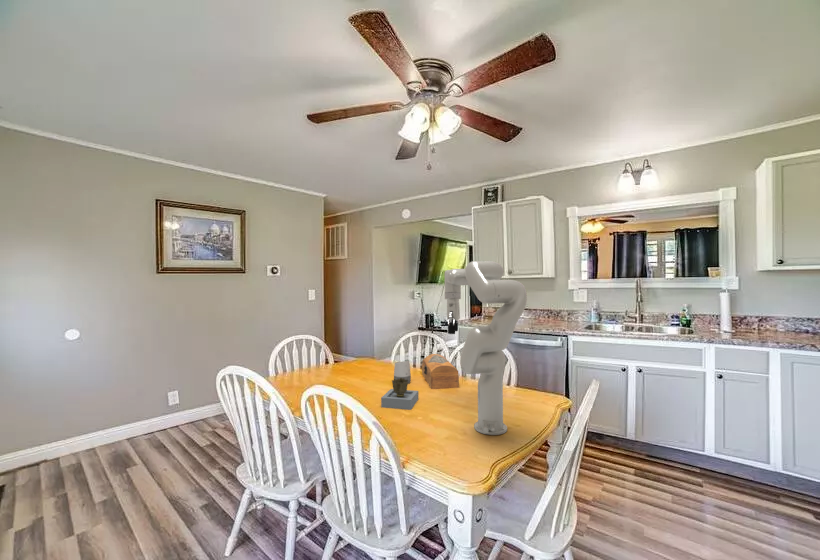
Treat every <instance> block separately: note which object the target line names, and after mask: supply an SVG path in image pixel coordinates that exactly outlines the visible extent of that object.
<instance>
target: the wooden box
mask: <svg viewBox="0 0 820 560" xmlns="http://www.w3.org/2000/svg"><path fill="white" fill-rule="evenodd" d="M421 362H422V363H421V375H422V376H423V378H424V380H425V381H426V382H427V384H428V386H429V388H430V389H431V390H441V389H442V390H444V389H459V388H460V381H459V379H460V377H459V376H460V375H459V370H458V368H456V367H455V366H454V365H453V364H452V363H451V362H450V361H449V360H448V359H447V358H446V357H445V356H443V355H442V354H438V353H431V354H429V355H427V356H426V357H424V358H423V359H422V361H421Z"/></svg>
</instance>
